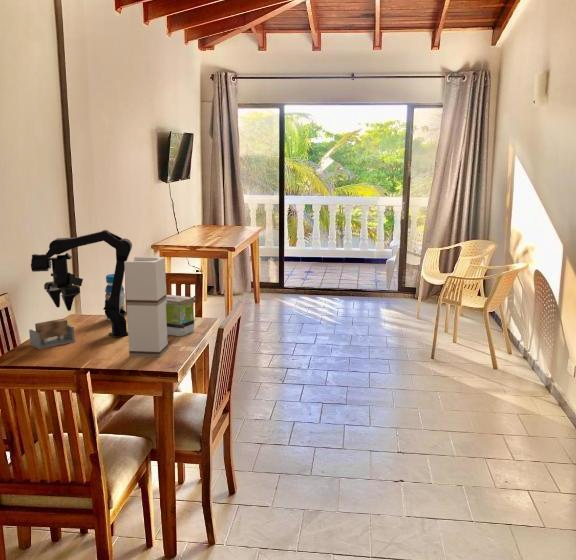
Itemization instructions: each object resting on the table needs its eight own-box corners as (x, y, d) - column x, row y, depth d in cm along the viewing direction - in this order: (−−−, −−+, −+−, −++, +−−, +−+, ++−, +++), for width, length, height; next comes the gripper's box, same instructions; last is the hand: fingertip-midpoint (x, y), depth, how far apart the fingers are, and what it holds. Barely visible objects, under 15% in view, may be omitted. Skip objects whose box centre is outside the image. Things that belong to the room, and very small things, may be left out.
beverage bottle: (128, 316, 286) (126, 273, 282) (121, 321, 277) (119, 277, 274) (111, 316, 287) (108, 273, 283) (103, 321, 278) (100, 276, 275)
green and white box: (195, 331, 262) (194, 296, 259) (180, 337, 253) (179, 301, 250) (166, 327, 269) (164, 293, 266) (151, 332, 260) (149, 297, 257)
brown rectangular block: (40, 339, 240) (39, 325, 239) (36, 337, 243) (35, 323, 242) (68, 333, 248) (67, 320, 247) (63, 331, 250) (62, 318, 249)
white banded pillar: (168, 348, 238) (164, 257, 232) (159, 357, 228) (155, 262, 221) (139, 347, 240) (135, 256, 233) (129, 356, 229) (124, 261, 223)
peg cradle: (65, 337, 254) (64, 322, 253) (75, 341, 248) (74, 326, 246) (29, 344, 244) (28, 329, 243) (39, 349, 238) (38, 334, 237)
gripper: (90, 270, 248) (93, 308, 251) (67, 265, 260) (71, 302, 264) (64, 274, 240) (67, 314, 243) (41, 269, 253) (45, 306, 256)
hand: (63, 308), depth 252 cm, fingers open, 9 cm apart
